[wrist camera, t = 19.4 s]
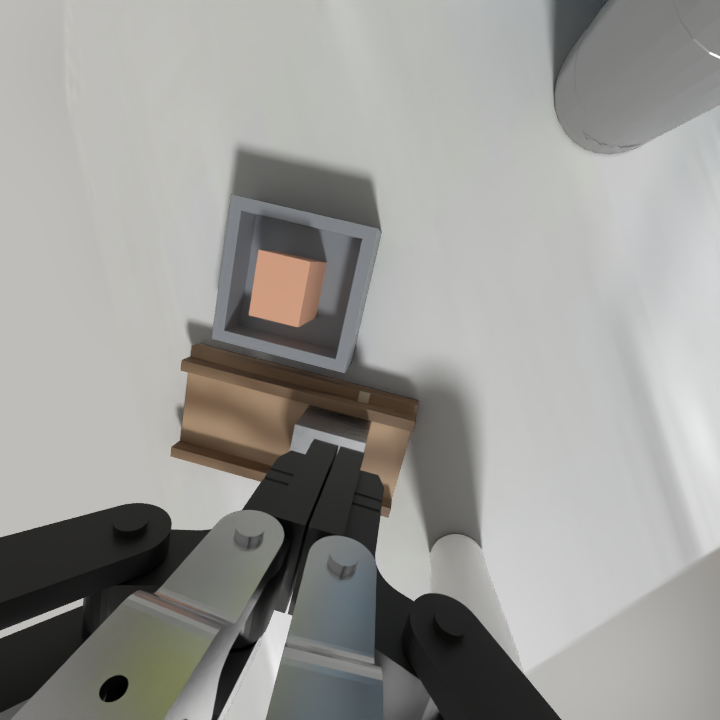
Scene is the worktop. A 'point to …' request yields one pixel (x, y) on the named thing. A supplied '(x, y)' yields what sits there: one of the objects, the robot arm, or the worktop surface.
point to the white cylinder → (470, 586)
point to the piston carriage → (329, 430)
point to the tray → (307, 239)
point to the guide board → (280, 415)
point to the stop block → (286, 288)
